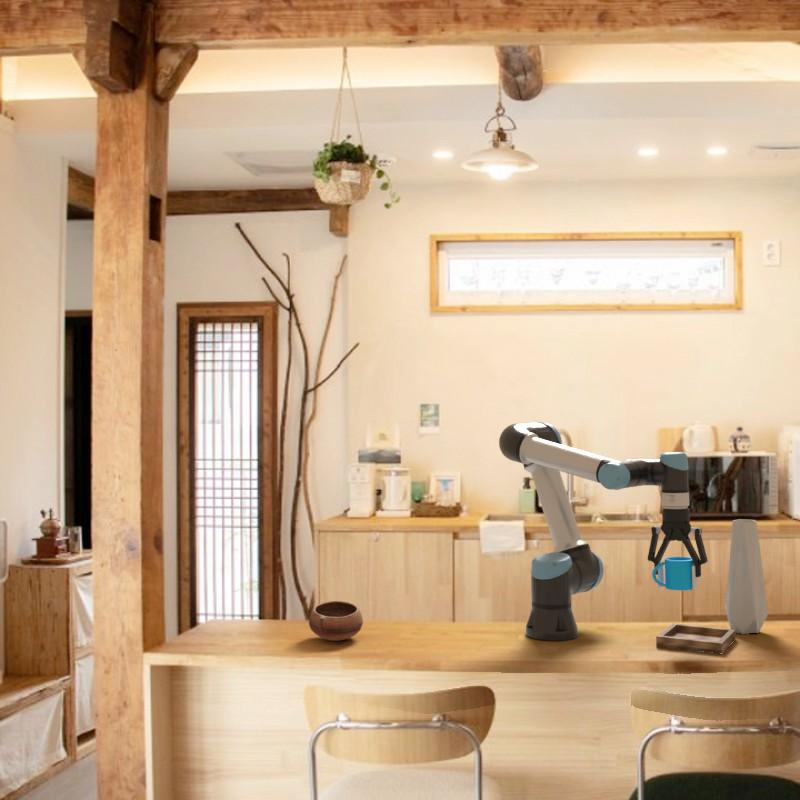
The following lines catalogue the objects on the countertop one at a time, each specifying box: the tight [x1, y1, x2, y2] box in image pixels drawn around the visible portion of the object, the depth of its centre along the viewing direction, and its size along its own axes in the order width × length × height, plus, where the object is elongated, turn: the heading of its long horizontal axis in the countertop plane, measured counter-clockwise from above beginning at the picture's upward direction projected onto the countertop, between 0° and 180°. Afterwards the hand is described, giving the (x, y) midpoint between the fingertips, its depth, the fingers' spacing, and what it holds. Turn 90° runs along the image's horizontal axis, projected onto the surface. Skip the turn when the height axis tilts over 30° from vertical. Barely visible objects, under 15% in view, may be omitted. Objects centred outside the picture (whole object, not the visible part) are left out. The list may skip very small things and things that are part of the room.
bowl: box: [308, 600, 364, 642], centre depth 309 cm, size 16×16×10 cm
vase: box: [724, 518, 769, 635], centre depth 314 cm, size 12×12×33 cm
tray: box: [655, 622, 737, 654], centre depth 301 cm, size 18×18×3 cm
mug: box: [651, 556, 695, 591], centre depth 299 cm, size 12×8×8 cm
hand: (678, 587), depth 298 cm, fingers closed on mug, 9 cm apart
